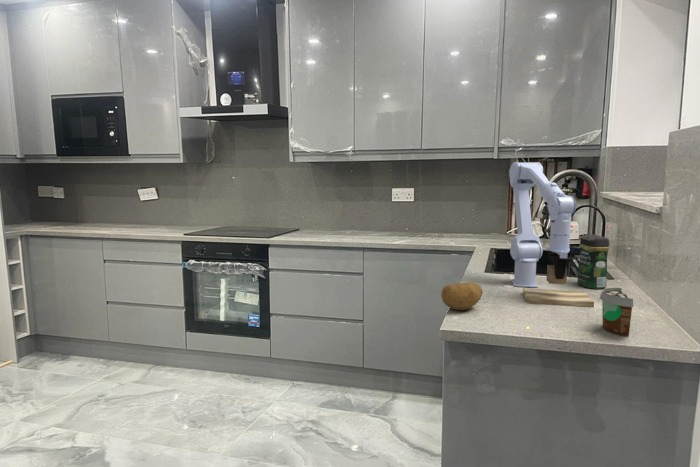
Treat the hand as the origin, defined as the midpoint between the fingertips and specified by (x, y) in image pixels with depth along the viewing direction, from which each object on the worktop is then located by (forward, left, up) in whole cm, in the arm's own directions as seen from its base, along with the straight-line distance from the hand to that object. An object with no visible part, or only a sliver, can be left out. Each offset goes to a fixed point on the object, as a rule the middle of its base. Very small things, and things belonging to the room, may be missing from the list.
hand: (557, 276), depth 153 cm
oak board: (0, 0, -8) cm, 8 cm away
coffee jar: (-22, +15, -8) cm, 28 cm away
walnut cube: (0, 0, -2) cm, 2 cm away
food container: (+27, +8, -8) cm, 30 cm away
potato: (+17, -30, -8) cm, 35 cm away
